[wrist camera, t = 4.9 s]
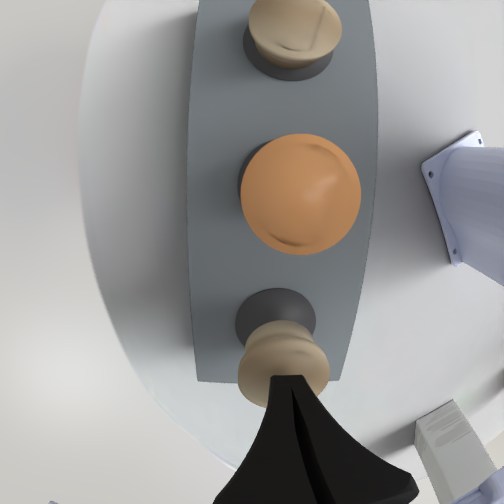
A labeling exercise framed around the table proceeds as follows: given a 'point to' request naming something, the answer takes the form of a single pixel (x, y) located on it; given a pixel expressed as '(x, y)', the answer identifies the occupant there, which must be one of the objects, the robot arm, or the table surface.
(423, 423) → the skincare box
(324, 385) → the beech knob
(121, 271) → the table surface
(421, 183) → the table surface
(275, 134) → the console
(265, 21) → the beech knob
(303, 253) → the orange knob
